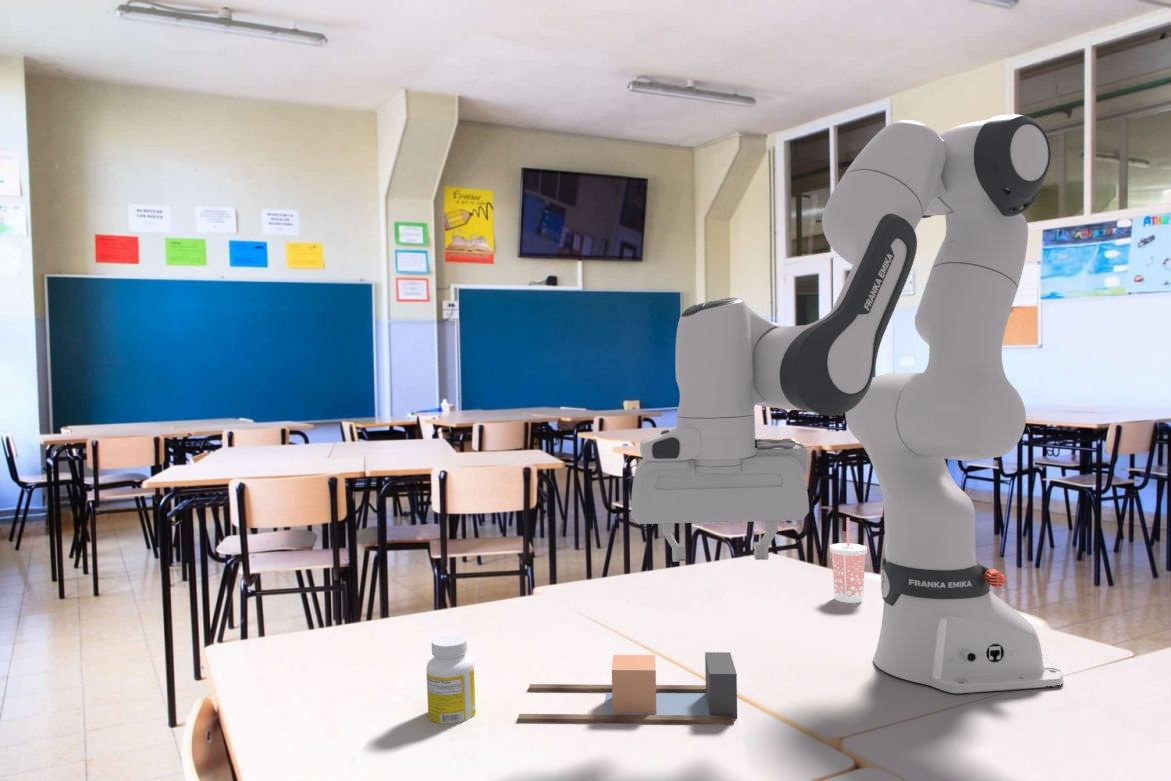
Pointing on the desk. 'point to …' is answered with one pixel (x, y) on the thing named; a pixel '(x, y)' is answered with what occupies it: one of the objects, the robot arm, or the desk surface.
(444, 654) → the supplement bottle
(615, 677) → the terracotta cube
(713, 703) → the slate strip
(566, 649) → the desk surface
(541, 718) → the guide rails
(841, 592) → the beverage cup
